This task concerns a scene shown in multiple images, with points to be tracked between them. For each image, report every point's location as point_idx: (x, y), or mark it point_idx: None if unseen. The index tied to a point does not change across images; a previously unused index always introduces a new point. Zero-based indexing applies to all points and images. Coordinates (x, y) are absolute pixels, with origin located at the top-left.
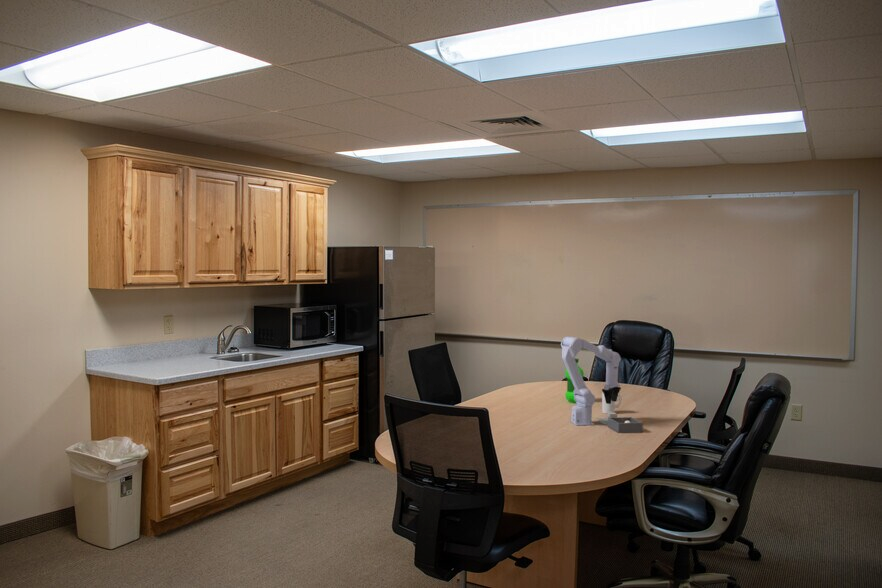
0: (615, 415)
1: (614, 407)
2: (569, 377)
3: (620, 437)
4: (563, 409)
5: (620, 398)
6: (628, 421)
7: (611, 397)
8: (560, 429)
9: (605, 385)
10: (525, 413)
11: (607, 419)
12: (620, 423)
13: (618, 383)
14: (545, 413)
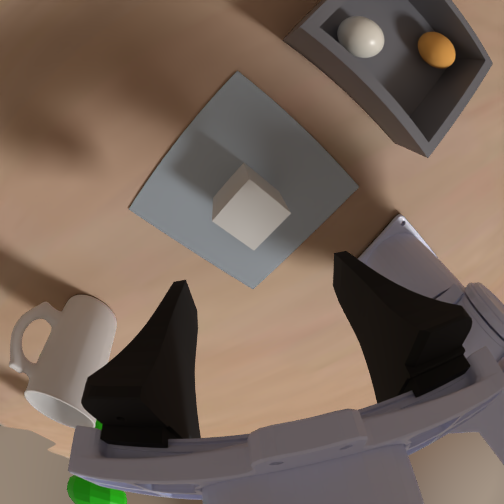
0: (258, 183)
1: (62, 315)
2: (123, 492)
3: (493, 43)
4: (212, 406)
5: (16, 334)
6: (377, 27)
7: (373, 283)
8: (489, 255)
9: (447, 431)
10: (347, 406)
11: (226, 237)
12: (487, 55)
13: (83, 465)
14: (312, 397)
